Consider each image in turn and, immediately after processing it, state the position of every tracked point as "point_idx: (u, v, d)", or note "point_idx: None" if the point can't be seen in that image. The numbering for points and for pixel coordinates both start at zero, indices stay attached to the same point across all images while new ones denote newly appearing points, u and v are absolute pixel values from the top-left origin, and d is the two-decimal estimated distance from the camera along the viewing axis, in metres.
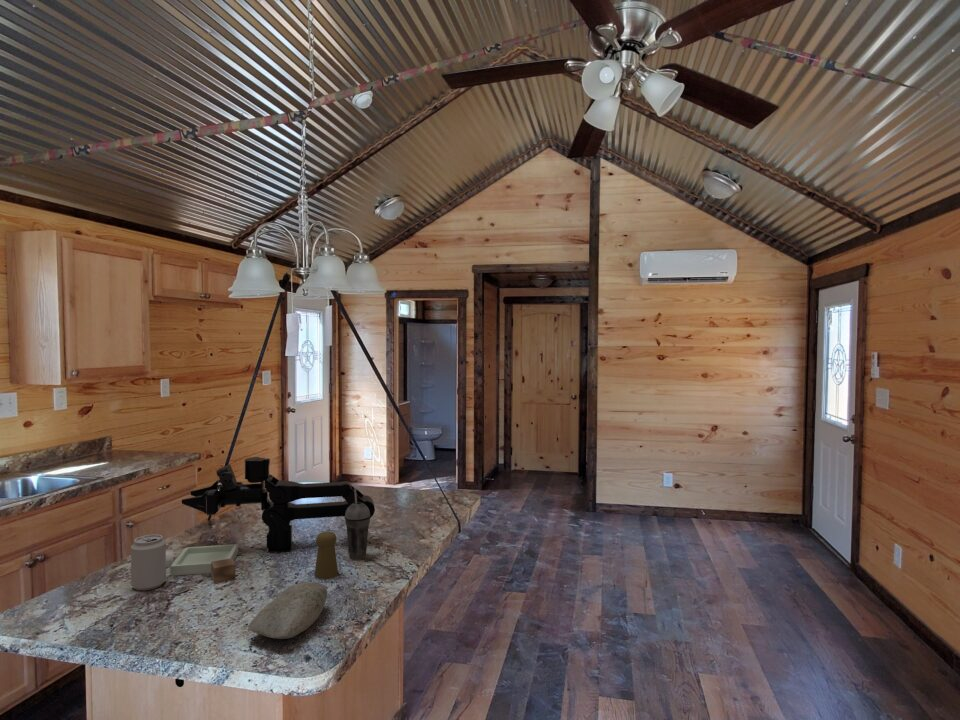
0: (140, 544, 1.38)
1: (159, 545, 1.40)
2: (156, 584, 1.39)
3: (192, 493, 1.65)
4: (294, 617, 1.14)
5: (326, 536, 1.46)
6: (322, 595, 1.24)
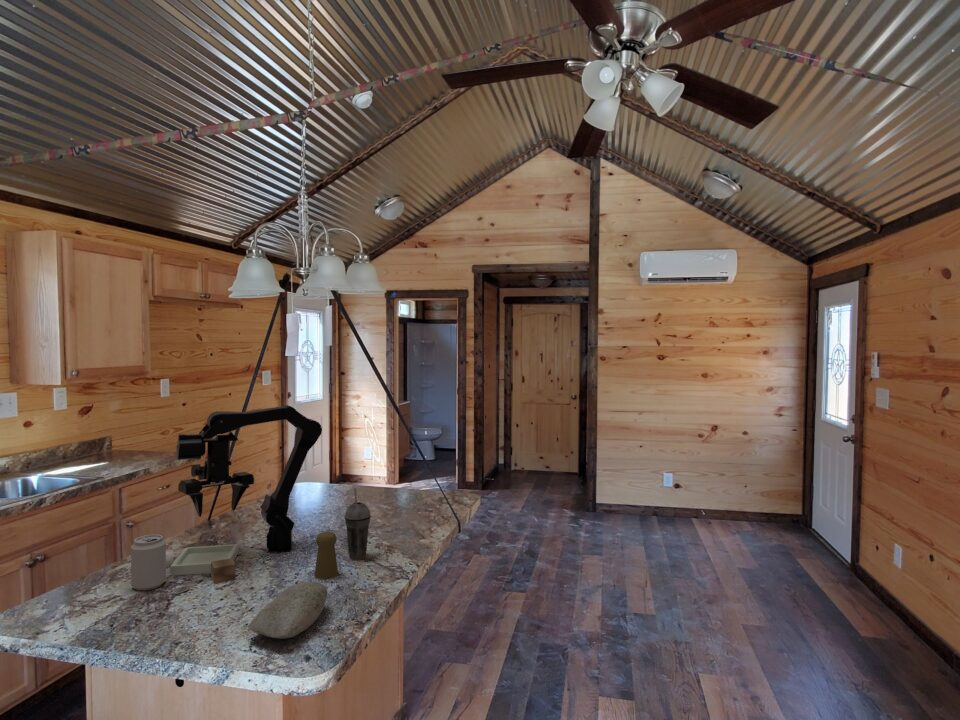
0: (140, 544, 1.38)
1: (159, 545, 1.40)
2: (156, 584, 1.39)
3: (232, 508, 1.61)
4: (294, 617, 1.14)
5: (326, 536, 1.46)
6: (322, 595, 1.24)
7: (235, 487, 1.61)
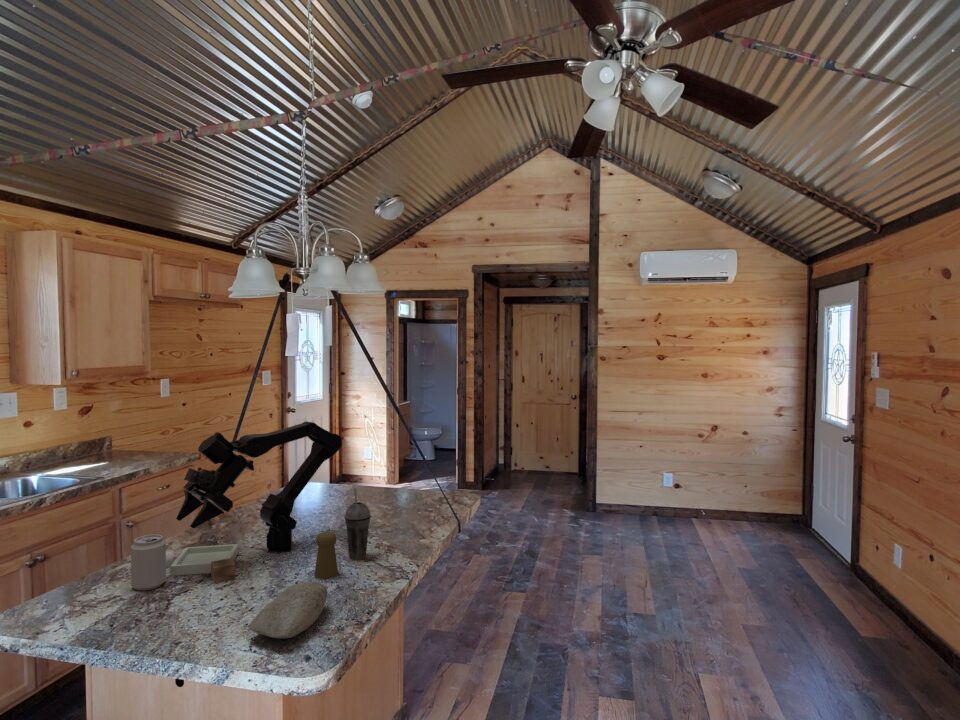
0: (140, 544, 1.38)
1: (159, 545, 1.40)
2: (156, 584, 1.39)
3: (179, 518, 1.50)
4: (294, 617, 1.14)
5: (326, 536, 1.46)
6: (322, 595, 1.24)
7: (194, 499, 1.54)
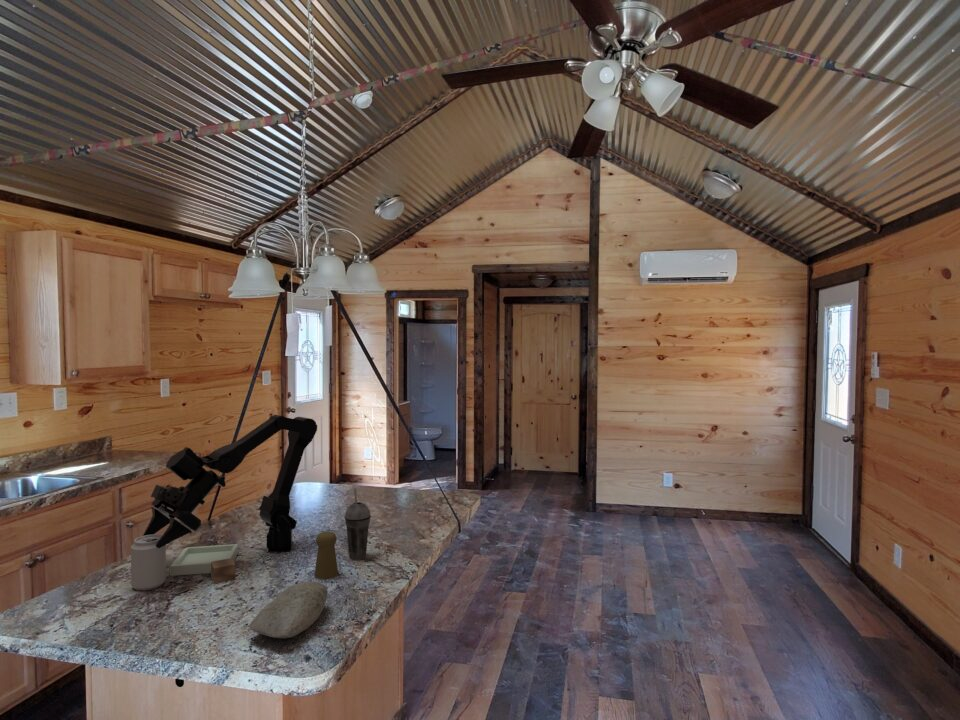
0: (140, 544, 1.38)
1: None
2: (156, 584, 1.39)
3: None
4: (294, 617, 1.14)
5: (326, 536, 1.46)
6: (322, 594, 1.24)
7: (161, 516, 1.48)
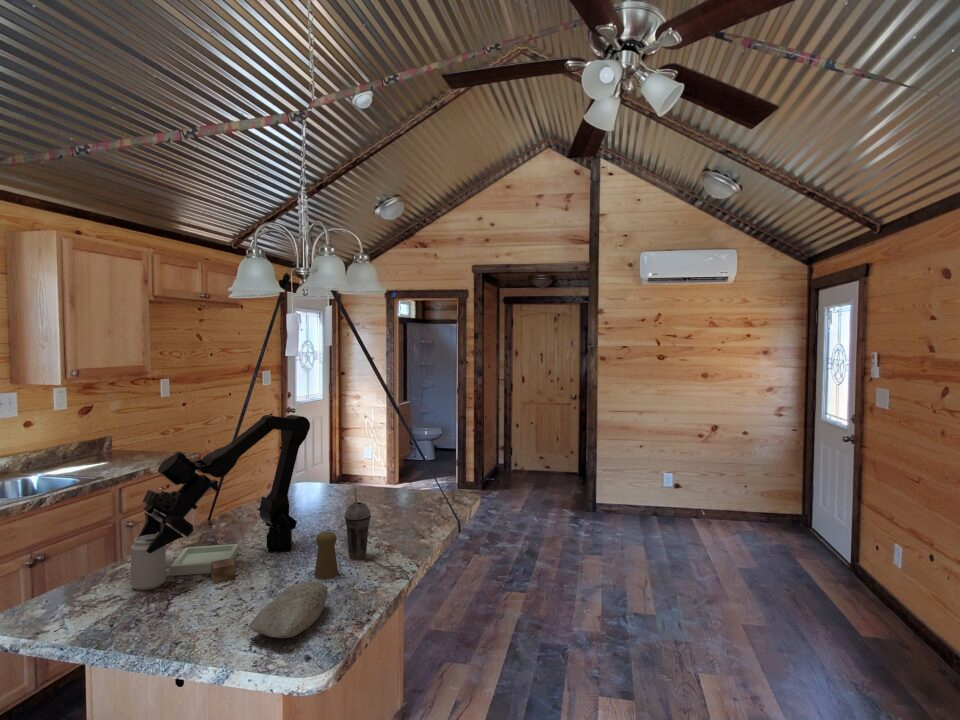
0: (140, 544, 1.38)
1: None
2: (156, 584, 1.39)
3: None
4: (294, 617, 1.14)
5: (326, 536, 1.46)
6: (323, 594, 1.24)
7: (155, 522, 1.46)
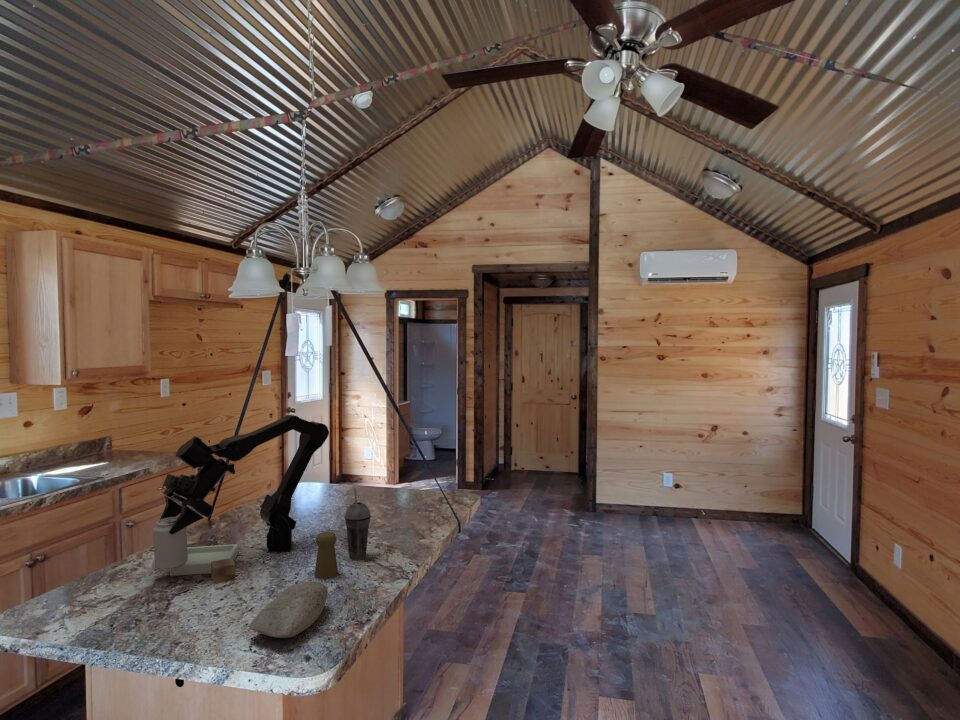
0: (162, 526, 1.42)
1: None
2: (179, 564, 1.44)
3: None
4: (295, 616, 1.15)
5: (326, 536, 1.46)
6: (323, 594, 1.25)
7: (175, 505, 1.50)
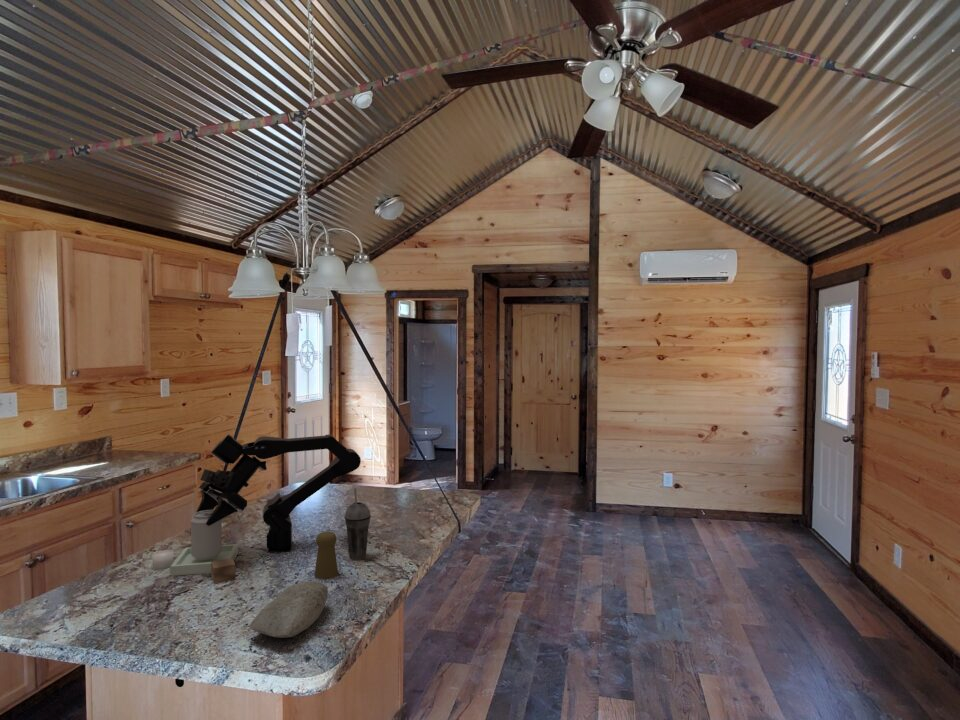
0: (200, 518, 1.52)
1: None
2: (214, 554, 1.53)
3: None
4: (295, 616, 1.15)
5: (326, 536, 1.46)
6: (323, 594, 1.25)
7: (210, 499, 1.60)
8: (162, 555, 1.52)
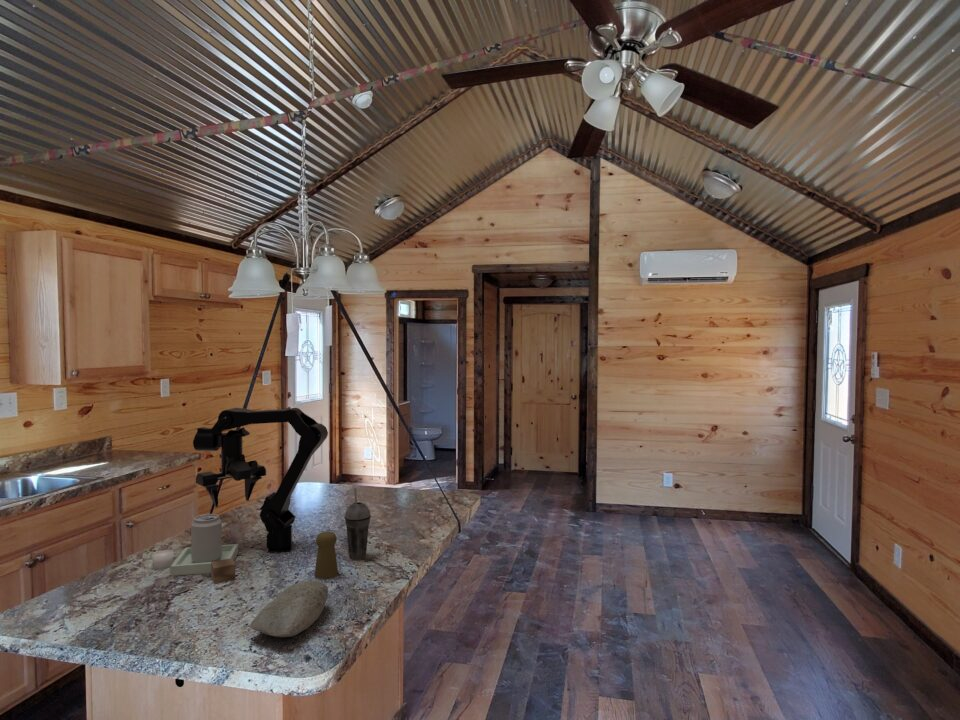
0: (200, 522, 1.52)
1: (216, 523, 1.54)
2: (214, 558, 1.53)
3: None
4: (296, 616, 1.15)
5: (326, 536, 1.46)
6: (323, 594, 1.25)
7: None
8: (162, 555, 1.52)
